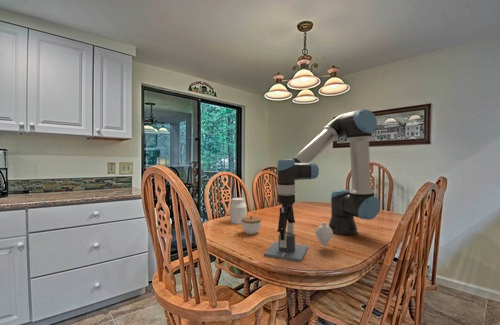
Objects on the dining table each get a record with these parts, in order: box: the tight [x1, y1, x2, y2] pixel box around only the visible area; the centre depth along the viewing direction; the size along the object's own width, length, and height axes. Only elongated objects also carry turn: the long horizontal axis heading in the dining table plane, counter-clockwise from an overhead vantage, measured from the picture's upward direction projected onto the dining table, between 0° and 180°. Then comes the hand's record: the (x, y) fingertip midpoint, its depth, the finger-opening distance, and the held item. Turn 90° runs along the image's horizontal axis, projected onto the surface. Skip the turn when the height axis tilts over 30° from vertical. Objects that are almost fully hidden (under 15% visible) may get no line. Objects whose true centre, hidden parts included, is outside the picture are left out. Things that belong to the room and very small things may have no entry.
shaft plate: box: [263, 241, 309, 263], centre depth 107 cm, size 16×16×6 cm
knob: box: [278, 231, 296, 253], centre depth 107 cm, size 7×7×7 cm
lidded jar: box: [241, 215, 262, 235], centre depth 135 cm, size 11×11×9 cm
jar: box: [229, 197, 248, 225], centre depth 159 cm, size 12×10×15 cm
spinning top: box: [315, 221, 334, 249], centre depth 111 cm, size 8×8×12 cm
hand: (287, 241), depth 107 cm, fingers open, 13 cm apart
